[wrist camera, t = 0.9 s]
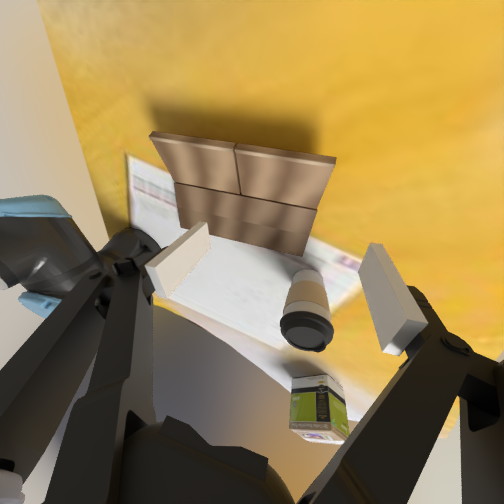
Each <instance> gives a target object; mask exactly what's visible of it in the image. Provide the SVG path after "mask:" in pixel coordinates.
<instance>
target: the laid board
mask: <svg viewBox="0 0 504 504" xmlns="http://www.w3.org/2000/svg"><path fill="white" fill-rule="evenodd" d="M174 186H175V192H176V199H177V206H178V212H179V219H180V226H181V228H185V229H189V230H190V229H191V228H192V227H193V226H195V225H196V224H197V223H198V222H207V225H208V231H209V234H210V235H214V236H218V237H222V238H226V239H230V240H235V241H239V242H243V243H247V244H251V245H255V246H260V247H264V248H268V249H272V250H276V251H280V252H285V253H289V254H293V255H297V256H301V257H302V256H303V253H304V250H305V247H306V244H307V240H308V237H309V234H310V231H311V228H312V225H313V222H314V219H315V216H316V213H317V209H314V208H308V207H303V206H298V205H293V204H288V203H283V202H277V201H272V200H267V199H262V198H257V197H252V196H246V195H242V194H236V193H231V192H226V191H220V190H215V189H210V188H205V187H200V186H195V185H189V184H184V183H179V182H176V183H174Z"/></svg>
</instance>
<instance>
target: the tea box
mask: <svg viewBox="0 0 504 504" xmlns="http://www.w3.org/2000/svg"><path fill="white" fill-rule="evenodd" d="M289 429H291V430H292V431H293V432H295V433H296V434H298V435H300V436H301V437H302V438H304V439H305V440H307V441H308V442H317V443H327V444H337V445H342V444H343V443H344V442H345V440H346V439H347V438H348V436H349V427H348V420H347V412H346V403H345V396H344V390H343V388H342V387H341V386H340V385H339V384H338V383H337V382H335V381H334V380H333V379H332V378H331V377H330V376H329V375H327V374H326V375H318V376H311V377H303V378H295V379H292V391H291V405H290V424H289Z"/></svg>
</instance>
